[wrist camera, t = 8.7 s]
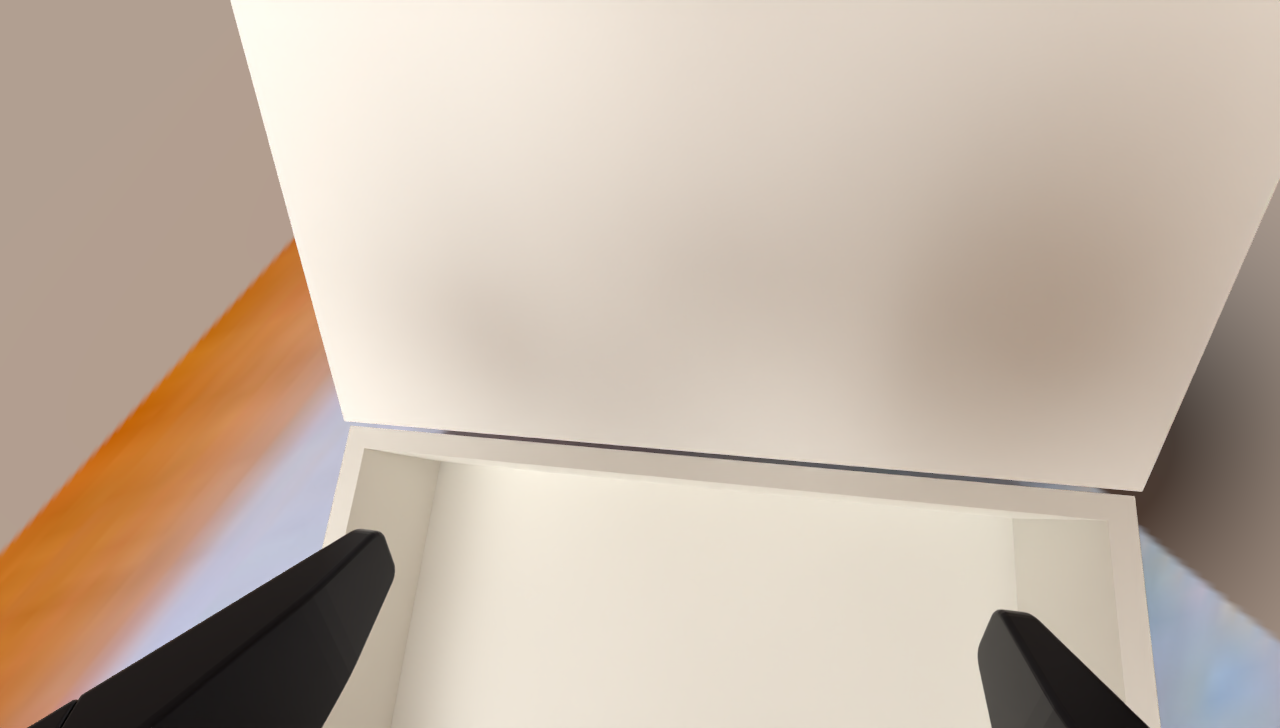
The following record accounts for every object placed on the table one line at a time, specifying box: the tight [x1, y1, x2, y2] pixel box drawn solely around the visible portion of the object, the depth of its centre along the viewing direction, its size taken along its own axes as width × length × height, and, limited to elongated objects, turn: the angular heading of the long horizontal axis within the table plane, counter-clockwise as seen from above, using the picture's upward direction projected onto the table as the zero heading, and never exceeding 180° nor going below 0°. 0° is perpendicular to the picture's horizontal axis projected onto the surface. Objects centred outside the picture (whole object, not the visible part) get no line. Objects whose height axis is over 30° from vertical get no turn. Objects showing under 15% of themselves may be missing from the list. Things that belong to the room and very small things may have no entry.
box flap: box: [231, 0, 1280, 492], centre depth 12 cm, size 1×20×10 cm
